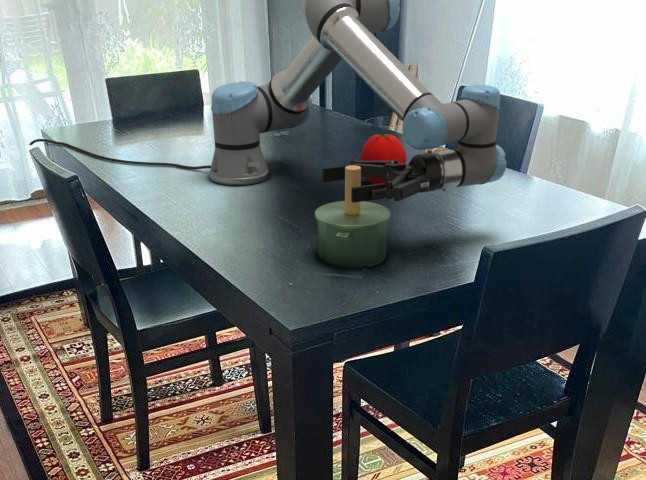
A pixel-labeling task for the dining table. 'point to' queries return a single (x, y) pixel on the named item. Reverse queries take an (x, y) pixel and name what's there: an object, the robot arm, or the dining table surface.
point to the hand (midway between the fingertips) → (336, 184)
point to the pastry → (435, 150)
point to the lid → (352, 207)
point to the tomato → (383, 151)
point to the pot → (352, 245)
